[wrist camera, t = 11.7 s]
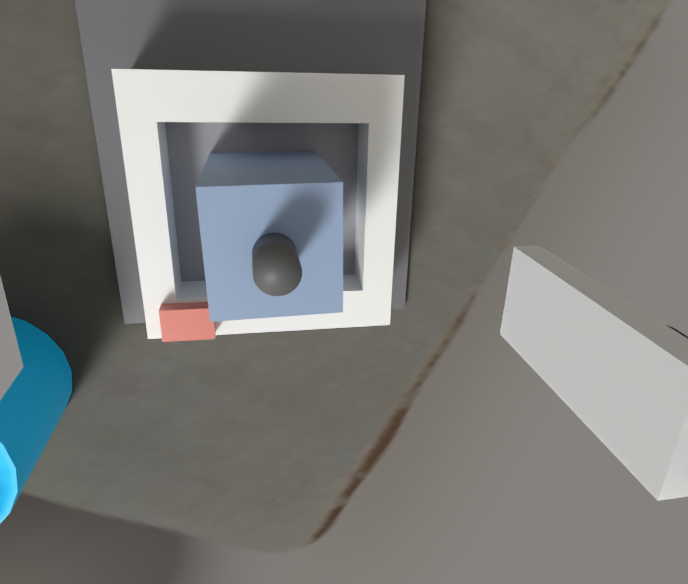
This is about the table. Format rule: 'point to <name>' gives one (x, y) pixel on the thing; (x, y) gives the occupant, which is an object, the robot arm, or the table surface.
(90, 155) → the table surface
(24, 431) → the mug
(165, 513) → the table surface
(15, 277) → the table surface
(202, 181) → the plug
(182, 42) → the socket
